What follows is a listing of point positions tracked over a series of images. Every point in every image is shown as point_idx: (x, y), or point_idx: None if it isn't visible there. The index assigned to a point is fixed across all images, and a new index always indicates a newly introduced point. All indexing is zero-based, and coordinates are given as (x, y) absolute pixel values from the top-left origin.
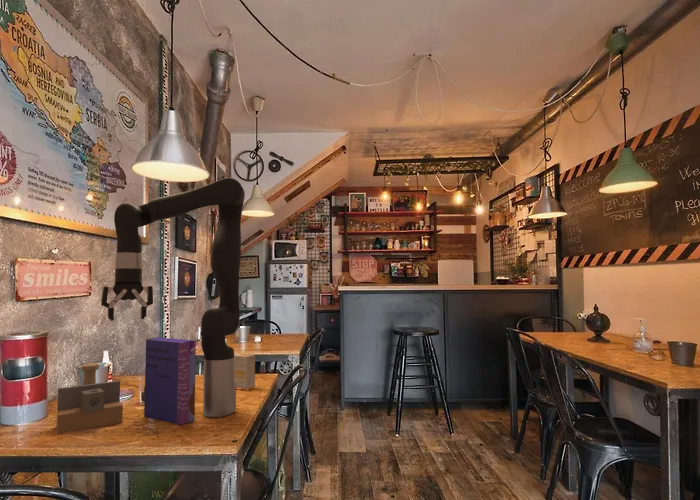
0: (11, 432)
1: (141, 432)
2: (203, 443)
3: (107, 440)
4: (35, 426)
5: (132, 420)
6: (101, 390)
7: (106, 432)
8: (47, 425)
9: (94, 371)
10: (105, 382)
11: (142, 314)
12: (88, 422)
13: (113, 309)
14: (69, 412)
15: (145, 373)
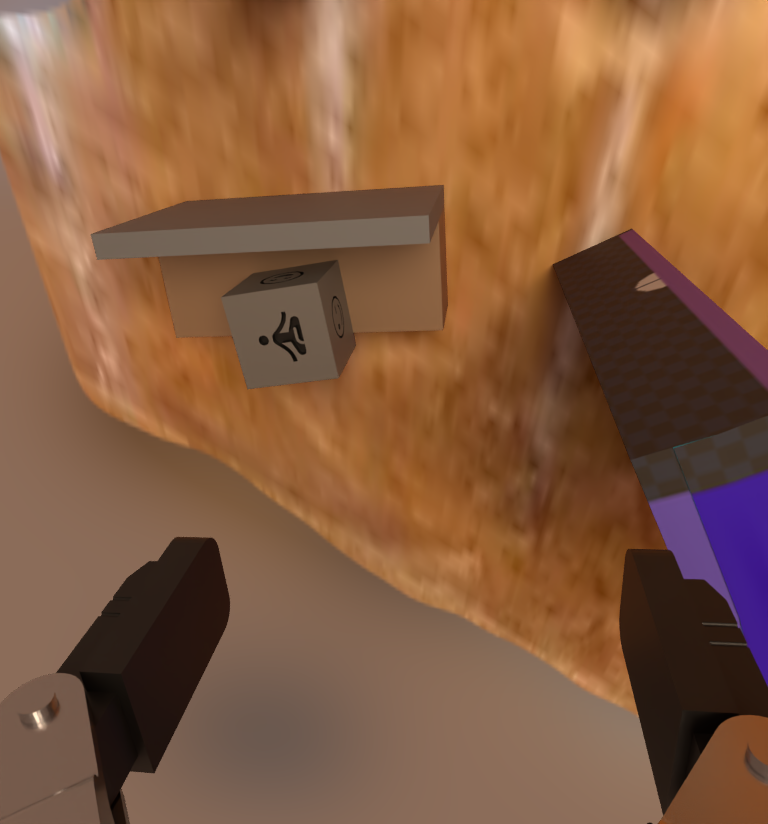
0: (25, 171)
1: (494, 481)
2: None
3: (378, 494)
4: (94, 127)
5: (492, 298)
6: (323, 345)
7: (378, 405)
8: (142, 143)
9: None
10: (340, 225)
11: (640, 695)
12: None
13: (154, 756)
14: (214, 315)
15: (582, 337)
